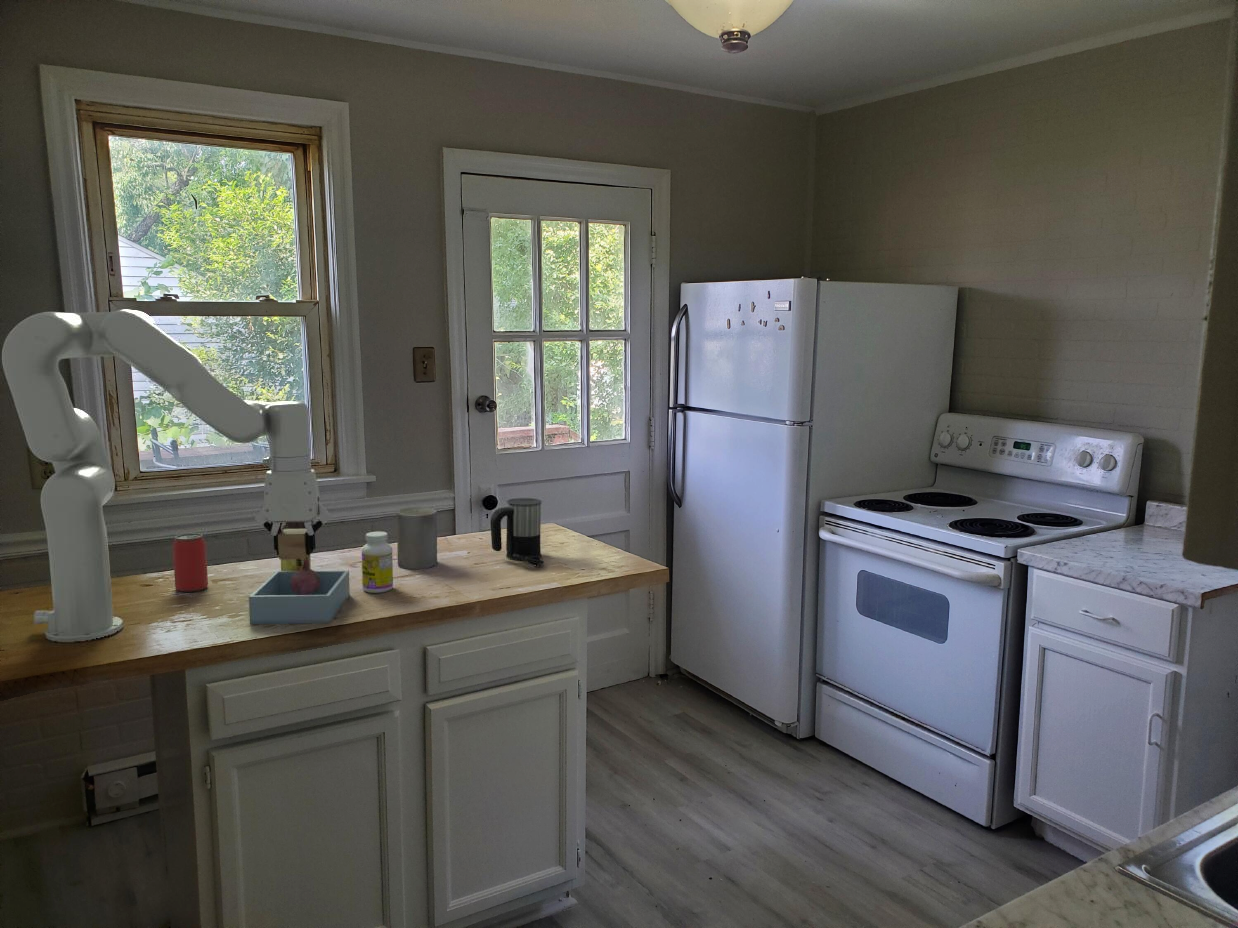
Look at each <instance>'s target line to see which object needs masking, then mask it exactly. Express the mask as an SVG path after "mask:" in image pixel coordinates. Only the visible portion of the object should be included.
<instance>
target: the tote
mask: <svg viewBox="0 0 1238 928" xmlns="http://www.w3.org/2000/svg"><path fill="white" fill-rule="evenodd" d="M314 571H315V572H316V573H317V574H318V575H319V576H320V579H321V584H320V587H319V589H318V590H317V591H316V592H315V593H314V594H313V595H297V594H295V593H294V592H293V591H292V589H291V587H290V580H291V578H292V576H293V575H294V574H295V573H296V572H298V571H281V570H276V571H274V573H273V574H271V575H270V576H269V577H268V578H267V579H266V580H264V582H262V584H260V586H259V587H258V588H256V589H255V590H254V591H253V592H252V593H251V594H250V595H249V596H248V607H249V608H248V611H249V624H250V625H270V624H271V625H279V624H281V625H283V624H284V625H285V624H331V623H332V621H333V620H334V619H335V617H336V616H337V614H338V613H339V611H340V610H341V608H342V607H343V606H344V605H345V603H346V601H347V600H348V598H350V595H351V594H350V593H351V591H350V589H351V587H350V570H314Z"/></svg>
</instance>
